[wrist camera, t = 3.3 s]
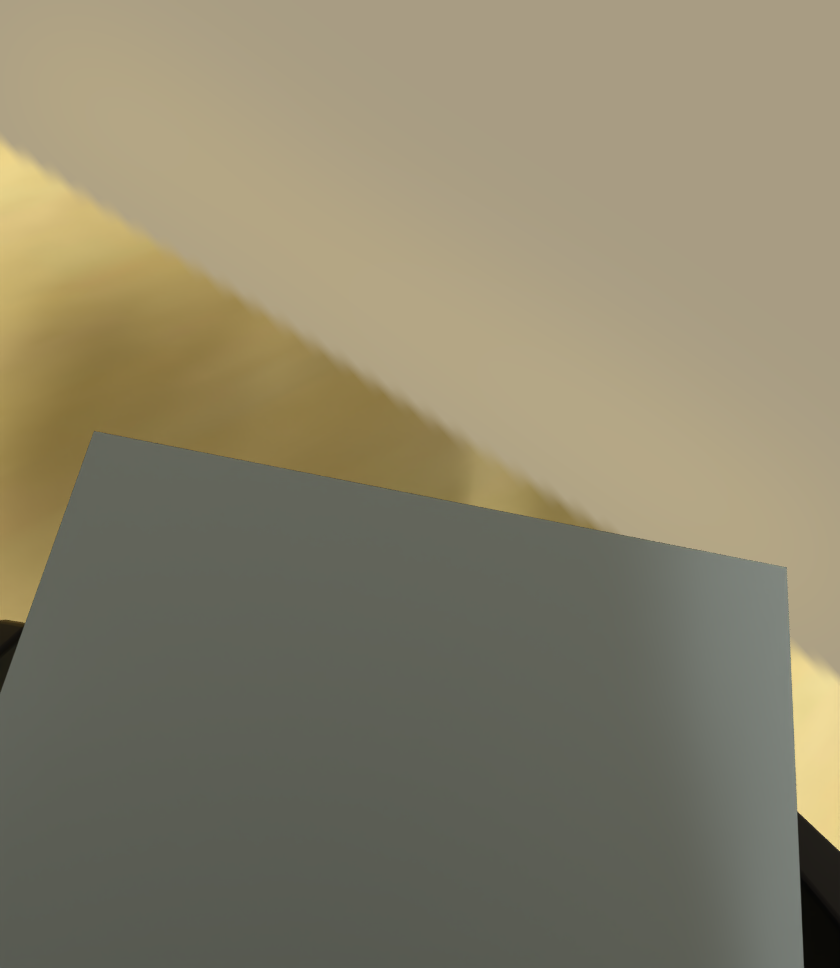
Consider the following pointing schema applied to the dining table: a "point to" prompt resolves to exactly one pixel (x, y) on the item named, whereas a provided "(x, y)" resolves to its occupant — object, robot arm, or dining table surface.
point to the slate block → (388, 735)
